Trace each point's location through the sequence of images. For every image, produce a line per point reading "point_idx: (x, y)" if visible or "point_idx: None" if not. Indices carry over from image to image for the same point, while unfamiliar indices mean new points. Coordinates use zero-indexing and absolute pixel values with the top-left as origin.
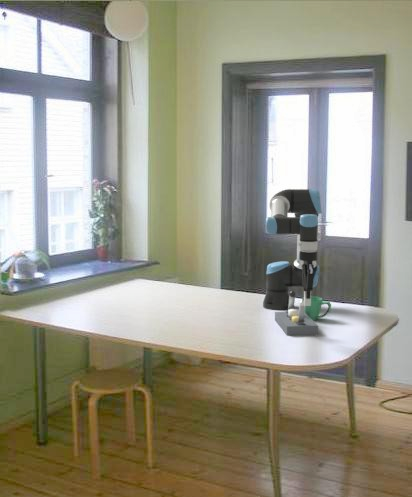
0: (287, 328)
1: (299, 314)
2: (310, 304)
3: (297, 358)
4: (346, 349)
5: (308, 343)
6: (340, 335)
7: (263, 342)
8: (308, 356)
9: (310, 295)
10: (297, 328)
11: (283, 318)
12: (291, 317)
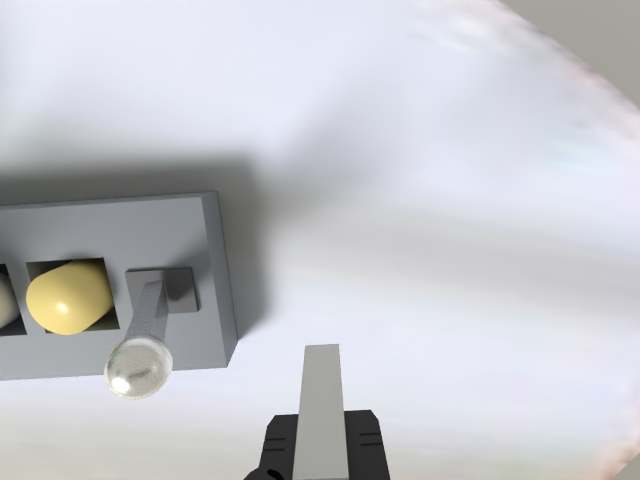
0: (229, 358)
1: (164, 333)
2: (339, 355)
3: (610, 348)
4: (517, 96)
5: (385, 267)
6: (232, 64)
7: None
8: (593, 301)
9: (343, 426)
10: (221, 309)
11: (44, 362)
12: (10, 317)
